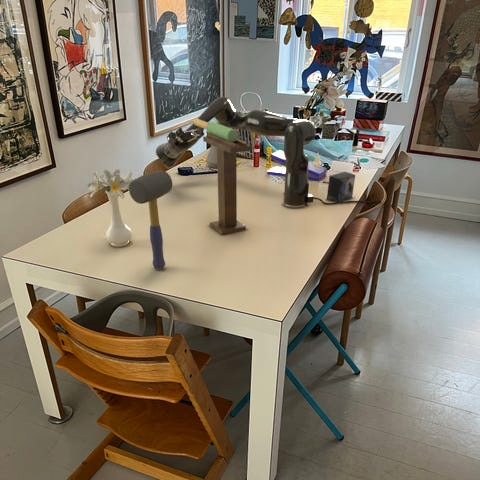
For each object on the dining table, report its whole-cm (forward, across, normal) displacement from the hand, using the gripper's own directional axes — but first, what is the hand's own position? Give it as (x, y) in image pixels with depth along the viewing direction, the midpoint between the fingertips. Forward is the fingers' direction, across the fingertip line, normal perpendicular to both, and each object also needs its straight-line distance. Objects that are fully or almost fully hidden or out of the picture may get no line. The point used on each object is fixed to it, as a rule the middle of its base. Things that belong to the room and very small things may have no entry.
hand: (191, 129), depth 184 cm
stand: (+9, 0, +41) cm, 42 cm away
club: (+17, 0, +6) cm, 18 cm away
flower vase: (+3, -40, +37) cm, 54 cm away
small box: (+5, +58, +38) cm, 70 cm away
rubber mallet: (+26, -35, +50) cm, 67 cm away
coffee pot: (-56, +40, +4) cm, 69 cm away
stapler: (-29, +64, +19) cm, 72 cm away
